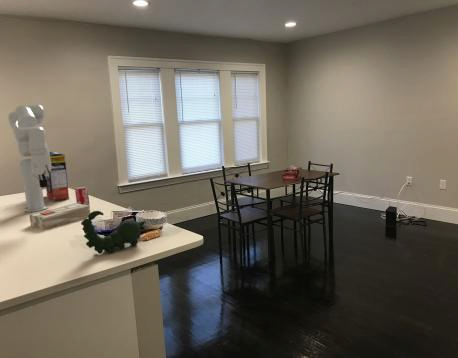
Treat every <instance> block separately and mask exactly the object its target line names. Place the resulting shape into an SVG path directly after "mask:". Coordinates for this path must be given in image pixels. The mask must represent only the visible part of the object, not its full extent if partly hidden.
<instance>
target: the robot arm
mask: <svg viewBox="0 0 458 358" xmlns="http://www.w3.org/2000/svg"><path fill="white" fill-rule="evenodd" d="M45 115H46V114H45V109H44V107H43V106H42V105H41V104H32V103H31V104H20V105H18V106H16V108H15V109H14V111H11V112H9V113H8V115H7V116H8V123H9V124H10V127H11V128H12V131H13V132H12V133H13V135H14V138H15V139H16V141H17V148H18V152H19V155H20V156H21V157H24V158H25V157H26V159H21V160H20V161H19V163H18V168H19V171H20V174H21V178H22V182H23V188H24V194H25V195H24V196H25V200H26V201H25V203H26V204H25V206H26V208H25V209H24V212H25V213H37V212H42V211H46V209H47V210H48V205H46V204H45V200H44V199H45V198H44V193H43V192H44V191H43V188H46V187H47V186H48V185H47V176H49V174H48V173H50V171H51V169H52V165H51V160H50V154H49V152H50V149H49V146H48V143H47V142H46V137H47V132H46V130H45V128H43V127H42V126H38V125H41V124H42V123H43V121H44V119H45ZM27 157H30V158H27Z"/></svg>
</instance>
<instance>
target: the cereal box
mask: <svg viewBox="0 0 458 358" xmlns="http://www.w3.org/2000/svg"><path fill="white" fill-rule="evenodd" d="M49 154H50V160H51V165H52V169H51V171H50V173H48V174H49V176H47V185H48V186H47V187H45V189H46V191H45V192H46V196H47V197H48V198H49V199H50V200H51V201H52V202H60V201H65V200H66V201H67V200H69V199H70V196H69V185H68V174H67V173H68V172H67V162H66V156H65V154H63V153H60V152H56V151H49Z"/></svg>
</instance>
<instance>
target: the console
mask: <svg viewBox="0 0 458 358" xmlns="http://www.w3.org/2000/svg"><path fill="white" fill-rule="evenodd" d="M72 205H76V206H79V207H75V208H71V209H69V208H65V207H68V206H72ZM49 210H50V211H55V213H52V214H48V215H41V214H40V213H42V212H46V211H49ZM90 213H91V208H90V207H89V205H83V204H77V202H76V203H71V204H67V205H62V206H57V207H55V208H54V207H53V208H49V209H47V210H46V209H45V210H41V211H37V212H33V213H30V214H29V215H28V216H29V221H30V226H32V227H35V228H38V229H42V230H47V229H51V228H54V227H55V228H56V227H58V226H62V225H64V224H68V223H71V222H75V221H79V220H81V219H86V218H88V216H89V214H90Z"/></svg>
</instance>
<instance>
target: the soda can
mask: <svg viewBox="0 0 458 358" xmlns="http://www.w3.org/2000/svg"><path fill="white" fill-rule="evenodd" d="M74 190H75V191H74V192H75V201H76V203H77V204H83V205H89V207H90V206H91V204H90V197H89V189H88V188H87V186H76V187H75V189H74Z"/></svg>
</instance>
